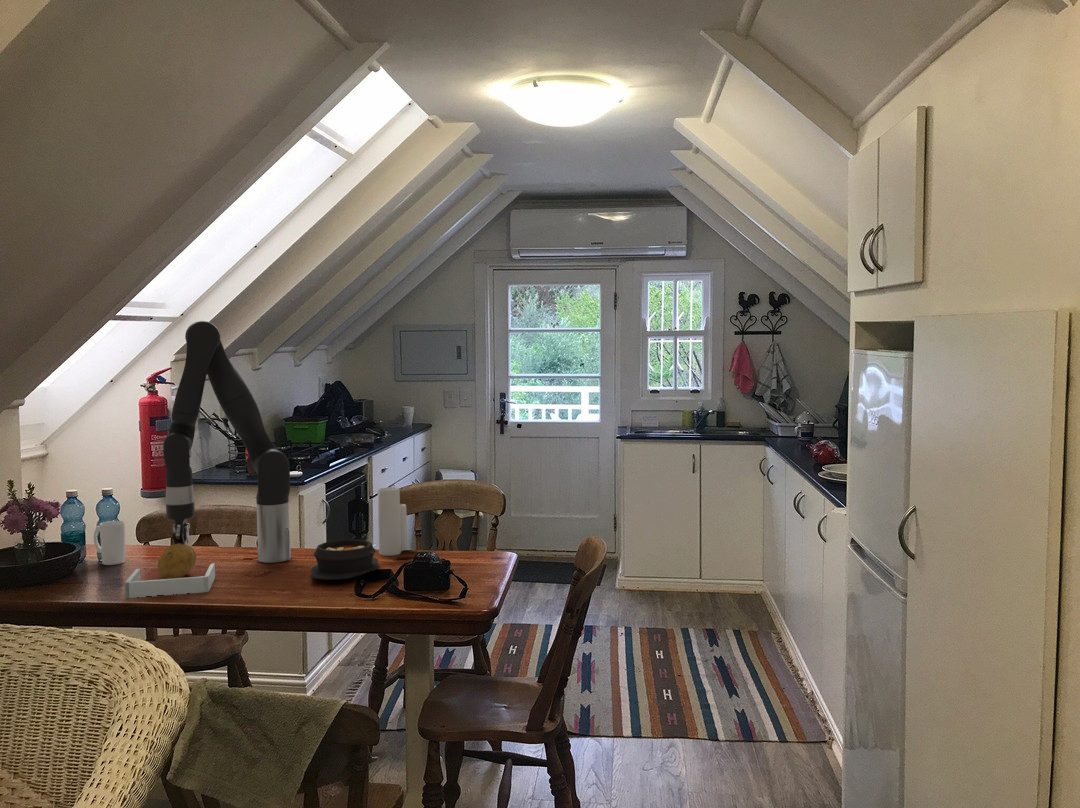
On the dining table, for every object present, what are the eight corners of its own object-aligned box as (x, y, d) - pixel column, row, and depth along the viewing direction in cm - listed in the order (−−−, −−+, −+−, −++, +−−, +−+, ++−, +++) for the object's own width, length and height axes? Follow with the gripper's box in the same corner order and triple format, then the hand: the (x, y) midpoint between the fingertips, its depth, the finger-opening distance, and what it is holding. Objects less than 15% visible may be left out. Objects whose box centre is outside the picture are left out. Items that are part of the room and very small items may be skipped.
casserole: (359, 587, 228) (358, 556, 227) (293, 585, 231) (292, 554, 230) (392, 564, 252) (392, 536, 252) (332, 562, 255) (331, 534, 255)
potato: (145, 549, 234) (178, 546, 233) (170, 541, 247) (202, 538, 246) (149, 584, 234) (182, 581, 233) (174, 574, 247) (205, 571, 246)
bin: (215, 577, 240) (214, 563, 239) (208, 592, 225) (208, 576, 225) (136, 583, 235) (136, 568, 234) (125, 598, 220) (124, 583, 220)
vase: (396, 556, 262) (395, 490, 261) (374, 555, 264) (372, 490, 262) (409, 547, 273) (408, 484, 272) (387, 547, 275) (386, 484, 273)
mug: (131, 560, 261) (129, 521, 261) (115, 565, 255) (113, 525, 254) (103, 558, 264) (101, 520, 263) (86, 564, 257) (84, 524, 257)
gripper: (190, 504, 242) (192, 565, 243) (197, 497, 255) (199, 554, 256) (161, 506, 241) (164, 567, 242) (170, 498, 253) (172, 556, 254)
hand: (182, 560), depth 249 cm, fingers closed
